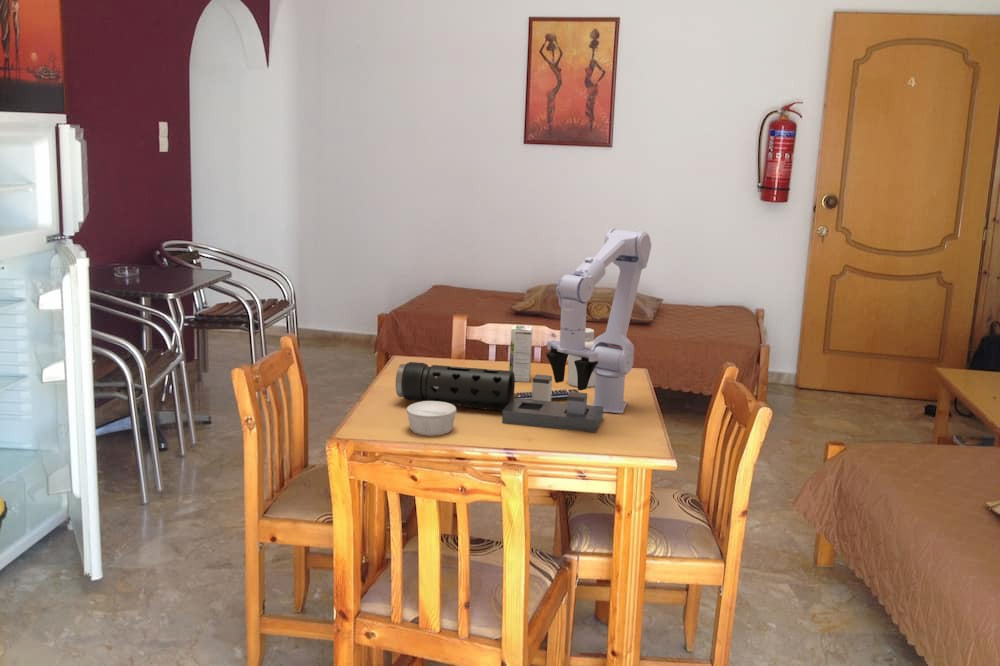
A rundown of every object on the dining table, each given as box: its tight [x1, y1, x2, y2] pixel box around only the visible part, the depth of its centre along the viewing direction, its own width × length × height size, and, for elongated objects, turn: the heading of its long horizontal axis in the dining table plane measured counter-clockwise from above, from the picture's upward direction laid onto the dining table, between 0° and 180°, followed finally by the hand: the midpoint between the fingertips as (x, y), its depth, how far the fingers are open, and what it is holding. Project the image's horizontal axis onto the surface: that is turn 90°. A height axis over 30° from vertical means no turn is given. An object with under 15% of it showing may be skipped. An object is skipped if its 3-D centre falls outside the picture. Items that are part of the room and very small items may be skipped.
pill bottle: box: [567, 327, 596, 388], centre depth 254 cm, size 8×8×15 cm
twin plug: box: [566, 391, 588, 415], centre depth 221 cm, size 4×4×7 cm
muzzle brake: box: [394, 361, 516, 411], centre depth 232 cm, size 10×28×10 cm, turn 78°
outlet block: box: [501, 397, 604, 434], centre depth 223 cm, size 11×22×3 cm, turn 76°
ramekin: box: [406, 401, 457, 437], centre depth 214 cm, size 11×11×5 cm
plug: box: [531, 373, 553, 402], centre depth 236 cm, size 4×4×7 cm
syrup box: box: [508, 324, 533, 383], centre depth 257 cm, size 6×6×14 cm
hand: (570, 385), depth 218 cm, fingers open, 7 cm apart
